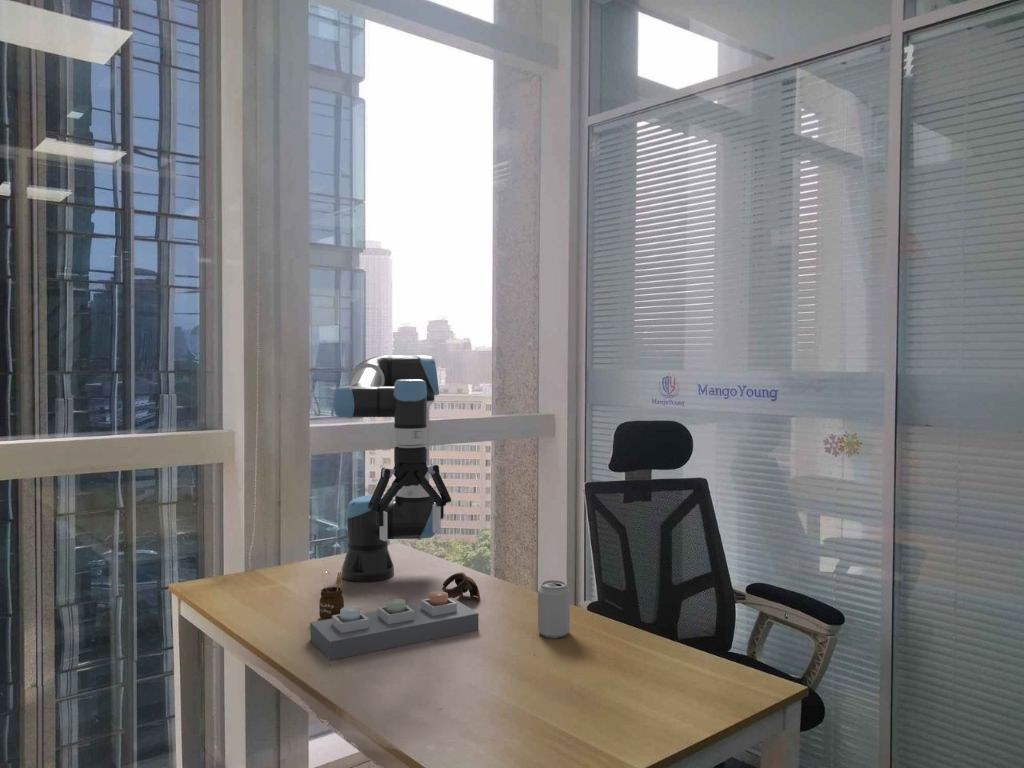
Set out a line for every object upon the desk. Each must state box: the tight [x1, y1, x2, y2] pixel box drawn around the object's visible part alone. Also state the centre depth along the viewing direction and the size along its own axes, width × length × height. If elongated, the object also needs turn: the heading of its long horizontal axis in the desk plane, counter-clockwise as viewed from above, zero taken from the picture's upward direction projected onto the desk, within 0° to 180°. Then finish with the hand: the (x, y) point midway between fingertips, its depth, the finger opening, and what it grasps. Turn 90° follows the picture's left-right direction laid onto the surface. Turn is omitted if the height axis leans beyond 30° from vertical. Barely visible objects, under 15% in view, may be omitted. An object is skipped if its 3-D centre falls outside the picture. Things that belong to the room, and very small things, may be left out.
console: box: [309, 598, 479, 661], centre depth 183 cm, size 14×36×6 cm, turn 121°
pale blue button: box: [340, 605, 361, 622], centre depth 177 cm, size 4×4×2 cm
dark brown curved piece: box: [441, 571, 481, 602], centre depth 209 cm, size 12×10×8 cm
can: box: [537, 579, 571, 639], centre depth 184 cm, size 8×8×12 cm
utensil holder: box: [318, 570, 345, 620], centre depth 194 cm, size 6×6×12 cm
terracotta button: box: [429, 590, 448, 605], centre depth 188 cm, size 4×4×2 cm
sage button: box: [385, 598, 406, 613], centre depth 183 cm, size 4×4×2 cm
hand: (410, 536), depth 184 cm, fingers open, 13 cm apart
